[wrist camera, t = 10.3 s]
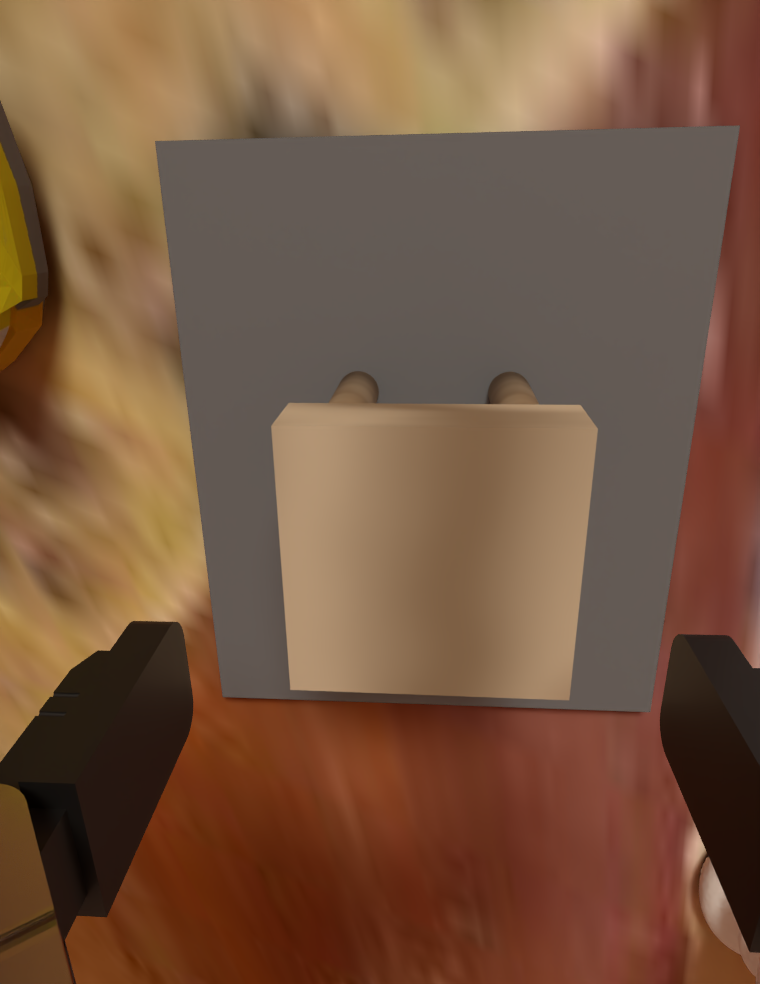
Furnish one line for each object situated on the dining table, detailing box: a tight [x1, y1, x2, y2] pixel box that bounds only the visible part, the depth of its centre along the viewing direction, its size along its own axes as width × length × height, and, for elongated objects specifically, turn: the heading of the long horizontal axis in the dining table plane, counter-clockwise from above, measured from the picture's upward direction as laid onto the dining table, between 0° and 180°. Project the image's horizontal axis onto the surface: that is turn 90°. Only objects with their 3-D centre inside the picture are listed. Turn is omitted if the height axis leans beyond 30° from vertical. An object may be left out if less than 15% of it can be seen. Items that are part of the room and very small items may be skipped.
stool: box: [271, 371, 598, 700], centre depth 18 cm, size 6×6×7 cm
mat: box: [155, 126, 740, 712], centre depth 22 cm, size 18×15×1 cm
